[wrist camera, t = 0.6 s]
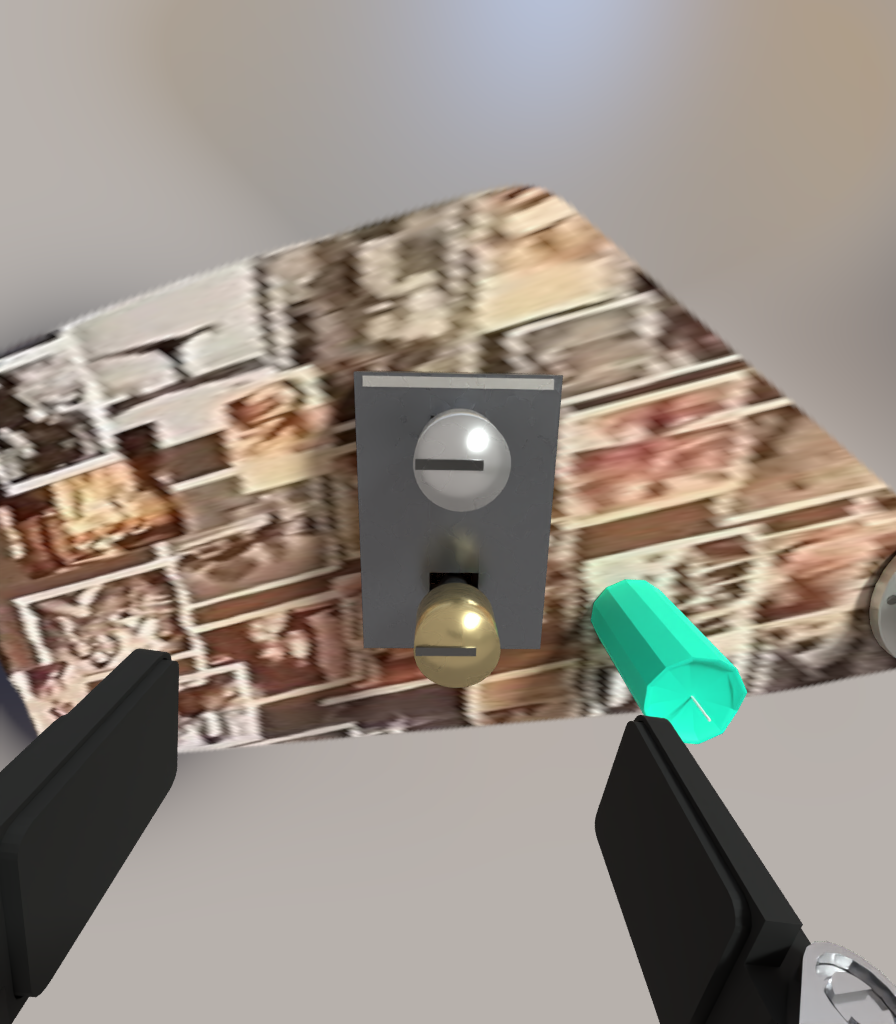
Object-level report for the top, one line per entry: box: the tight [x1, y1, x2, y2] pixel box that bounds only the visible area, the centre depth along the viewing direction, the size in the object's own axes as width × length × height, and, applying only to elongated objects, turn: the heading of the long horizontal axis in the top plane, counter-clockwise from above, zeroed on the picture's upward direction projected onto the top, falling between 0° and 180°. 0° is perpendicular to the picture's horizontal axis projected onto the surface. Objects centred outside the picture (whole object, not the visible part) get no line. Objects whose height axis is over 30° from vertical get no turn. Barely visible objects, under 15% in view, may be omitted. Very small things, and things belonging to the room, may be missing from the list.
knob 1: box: [413, 408, 511, 512], centre depth 27 cm, size 5×5×8 cm
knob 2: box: [414, 573, 500, 688], centre depth 30 cm, size 5×5×8 cm
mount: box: [354, 371, 563, 649], centre depth 33 cm, size 12×18×5 cm, turn 179°
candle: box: [591, 579, 747, 744], centre depth 33 cm, size 6×6×12 cm
